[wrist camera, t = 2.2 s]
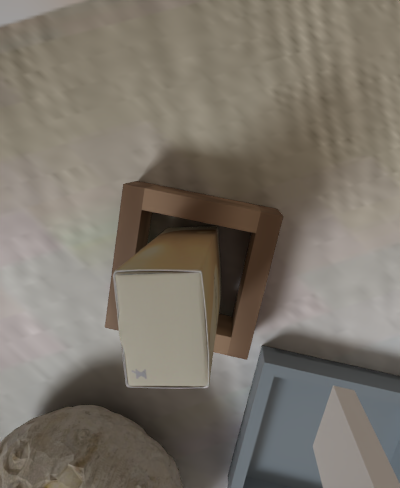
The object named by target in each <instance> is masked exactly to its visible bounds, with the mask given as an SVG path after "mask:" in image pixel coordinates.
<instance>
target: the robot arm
mask: <svg viewBox="0 0 400 488" xmlns="http://www.w3.org/2000/svg"><path fill="white" fill-rule="evenodd" d="M313 450H314V454H315V458H316V462H317V466H318V470H319V474H320V478H321V482H322V486H323V488H400V483H399V481H398V479H397V477H396V475H395V473H394V471H393V469H392V467H391V465H390V463H389V460H388V458H387V456H386V454H385V452H384V450H383V448H382V446H381V444H380V442H379V440H378V438H377V436H376V434H375V432H374V430H373V428H372V426H371V423H370V421H369V419H368V417H367V415H366V413H365V411H364V409H363V407H362V405H361V403H360V401H359V399H358V397H357V395H356V393H355V391H354V390H350V389H346V388H342V387H338V386H333V387H332V390H331V393H330V396H329V399H328V402H327V405H326V408H325V411H324V414H323V417H322V420H321V423H320V426H319V429H318V432H317V435H316V438H315V441H314V444H313Z"/></svg>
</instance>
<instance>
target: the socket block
mask: <svg viewBox="0 0 400 488" xmlns="http://www.w3.org/2000/svg"><path fill="white" fill-rule="evenodd" d="M152 212H155V213H160V214H164V215H169V216H174V217H179V218H184V219H189V220H194V221H198V222H203V223H208V224H213V225H218V226H223V227H228V228H233V229H237V230H242V231H247V232H252V233H251V237H250V241H249V246H248V250H247V254H246V259H245V263H244V267H243V272H242V276H241V280H240V285H239V289H238V293H237V297H236V302H235V306H234V310H233V315H232V316H227V315H223V314H219V315H218V322H217V329H216V336H215V343H214V350H213V352H215V353H220V354H224V355H229V356H233V357H237V358H242V359H246V360H247V358H248V354H249V350H250V346H251V342H252V338H253V334H254V330H255V326H256V322H257V318H258V314H259V310H260V306H261V302H262V299H263V295H264V291H265V287H266V283H267V279H268V275H269V271H270V267H271V263H272V259H273V255H274V251H275V247H276V243H277V239H278V235H279V231H280V227H281V223H282V220H283V215H282V214H281V213H280V212H279V210H278V209H275V208H270V207H265V206H260V205H255V204H250V203H245V202H240V201H235V200H230V199H225V198H220V197H215V196H210V195H205V194H200V193H195V192H190V191H185V190H180V189H175V188H170V187H165V186H160V185H155V184H150V183H145V182H140V181H135V182H130V183H126V184H123V191H122V199H121V206H120V214H119V222H118V230H117V237H116V245H115V253H114V261H113V268H112V276H111V284H110V291H109V299H108V307H107V315H106V322H105V328H109V329H114V330H118V331H119V327H118V317H117V308H116V299H115V290H114V281H113V273H114V271H115V270H116V269H118V268H119V267H120V266H121V265H123V264H124V263H125V262H126V261H128V260H129V259H130V258H131V257H133V256H134V255H135V254H136V253H137V252H139V251H140V250H141V249H142V248H144V247H145V246H146V245H147V243H148V236H149V230H150V223H151V217H152Z"/></svg>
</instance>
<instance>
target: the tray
mask: <svg viewBox="0 0 400 488" xmlns="http://www.w3.org/2000/svg"><path fill="white" fill-rule="evenodd" d="M333 386H338V387H342V388H346V389H350V390H354V391H355V393H356V395H357V397H358V399H359V401H360V403H361V405H362V407H363V409H364V411H365V413H366V415H367V417H368V419H369V421H370V423H371V426H372V428H373V430H374V432H375V434H376V436H377V438H378V440H379V442H380V444H381V446H382V448H383V450H384V452H385V454H386V456H387V458H388V460H389V463H390V465H391V467H392V469H393V471H394V473H395V475H396V477H397V479H398V481H399V483H400V376H396V375H391V374H387V373H383V372H378V371H374V370H369V369H365V368H360V367H356V366H351V365H347V364H342V363H338V362H333V361H329V360H324V359H320V358H316V357H311V356H307V355H302V354H298V353H293V352H289V351H284V350H280V349H275V348H271V347H266V346H262V348H261V351H260V355H259V359H258V363H257V367H256V370H255V374H254V378H253V382H252V386H251V390H250V393H249V397H248V401H247V405H246V409H245V412H244V416H243V420H242V424H241V428H240V431H239V435H238V439H237V443H236V447H235V450H234V454H233V458H232V462H231V466H230V469H229V473H228V488H323V486H322V482H321V478H320V474H319V470H318V466H317V462H316V458H315V454H314V450H313V444H314V441H315V438H316V435H317V432H318V429H319V426H320V423H321V420H322V417H323V414H324V411H325V408H326V405H327V402H328V399H329V396H330V393H331V390H332V387H333Z"/></svg>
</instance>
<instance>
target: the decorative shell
mask: <svg viewBox="0 0 400 488" xmlns="http://www.w3.org/2000/svg"><path fill="white" fill-rule="evenodd" d="M0 488H183V486H182V482H181V478H180V474H179V469H178V468H177V467H176V464H175V461H174V459H173V458H172V457H171V456H170V455H169V454H167V453H166V451H165V450H164V449H163V447H162V446H161V445H160V444H159V443H158V442H157V441H155V440H154V439H152V438H151V437H149V436H148V435H147V434H146V432H145V431H144V429H143V428H142V427H141V426H139V425H138V424H137V423H135V422H133V421H132V420H130V419H128V418H126V417H124V416H122V415H120V414H117V413H113V412H111V411H110V410H108V409H106V408H104V407H101V406H96V405H78V406H75V407H65V408H62V409H59V410H56V411H53V412H50V413H48V414H45V415H42V416H40V417H36V418H33V419H31V420H30V421H28V422H26V423H25V424H23V425H21V426H20V427H18V428H17V429H15V430H14V431H13V432H11V433H10V434H9V435H8V436H6V437H5V438H4V439H3V440H2V441H1V442H0Z"/></svg>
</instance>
